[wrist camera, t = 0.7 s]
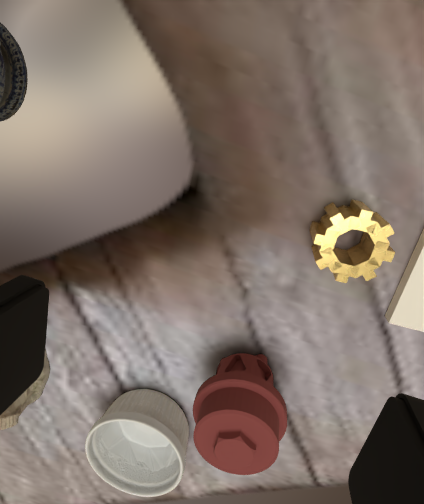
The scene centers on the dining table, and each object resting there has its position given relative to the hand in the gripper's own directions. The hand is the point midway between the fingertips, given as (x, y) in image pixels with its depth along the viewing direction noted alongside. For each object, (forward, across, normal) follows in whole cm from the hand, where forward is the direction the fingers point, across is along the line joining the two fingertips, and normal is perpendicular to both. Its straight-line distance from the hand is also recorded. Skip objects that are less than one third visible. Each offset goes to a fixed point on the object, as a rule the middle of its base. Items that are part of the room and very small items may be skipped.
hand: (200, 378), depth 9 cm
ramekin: (+30, +6, +35) cm, 46 cm away
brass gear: (+29, -9, +1) cm, 30 cm away
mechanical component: (+30, -4, +21) cm, 37 cm away
